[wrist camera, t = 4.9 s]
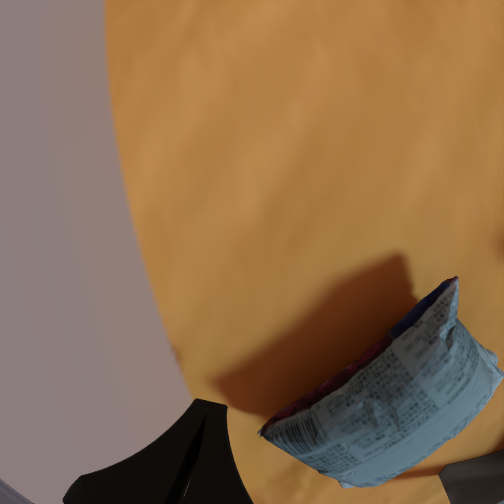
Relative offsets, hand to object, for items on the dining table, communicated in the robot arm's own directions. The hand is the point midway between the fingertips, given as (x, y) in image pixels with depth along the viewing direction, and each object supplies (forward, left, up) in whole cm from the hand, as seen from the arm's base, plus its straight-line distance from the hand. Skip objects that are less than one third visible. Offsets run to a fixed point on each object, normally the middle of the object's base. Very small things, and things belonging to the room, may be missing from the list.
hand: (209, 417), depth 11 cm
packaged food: (+1, -9, -3) cm, 10 cm away
